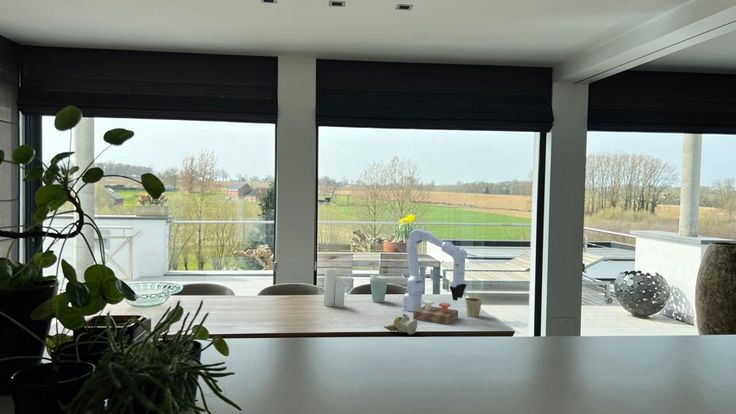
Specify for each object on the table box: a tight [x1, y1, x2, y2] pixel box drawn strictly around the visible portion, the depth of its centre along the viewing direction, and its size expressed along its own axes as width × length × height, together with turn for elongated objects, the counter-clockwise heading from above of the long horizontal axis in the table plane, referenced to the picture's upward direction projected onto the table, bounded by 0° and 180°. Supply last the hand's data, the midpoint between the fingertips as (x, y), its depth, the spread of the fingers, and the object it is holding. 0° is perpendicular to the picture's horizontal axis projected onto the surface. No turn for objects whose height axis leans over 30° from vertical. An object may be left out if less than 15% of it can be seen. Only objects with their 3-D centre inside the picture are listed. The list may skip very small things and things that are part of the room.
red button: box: [438, 302, 451, 313], centre depth 279 cm, size 4×4×5 cm
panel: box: [412, 305, 459, 325], centre depth 281 cm, size 18×16×4 cm
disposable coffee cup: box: [369, 274, 389, 304], centre depth 317 cm, size 11×11×15 cm
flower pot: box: [464, 297, 484, 318], centre depth 291 cm, size 9×9×9 cm
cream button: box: [421, 299, 435, 310], centre depth 283 cm, size 4×4×5 cm
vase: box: [323, 267, 346, 308], centre depth 302 cm, size 11×7×20 cm, turn 86°
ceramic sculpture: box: [383, 313, 419, 336], centre depth 253 cm, size 11×9×15 cm
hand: (457, 299), depth 284 cm, fingers open, 7 cm apart
